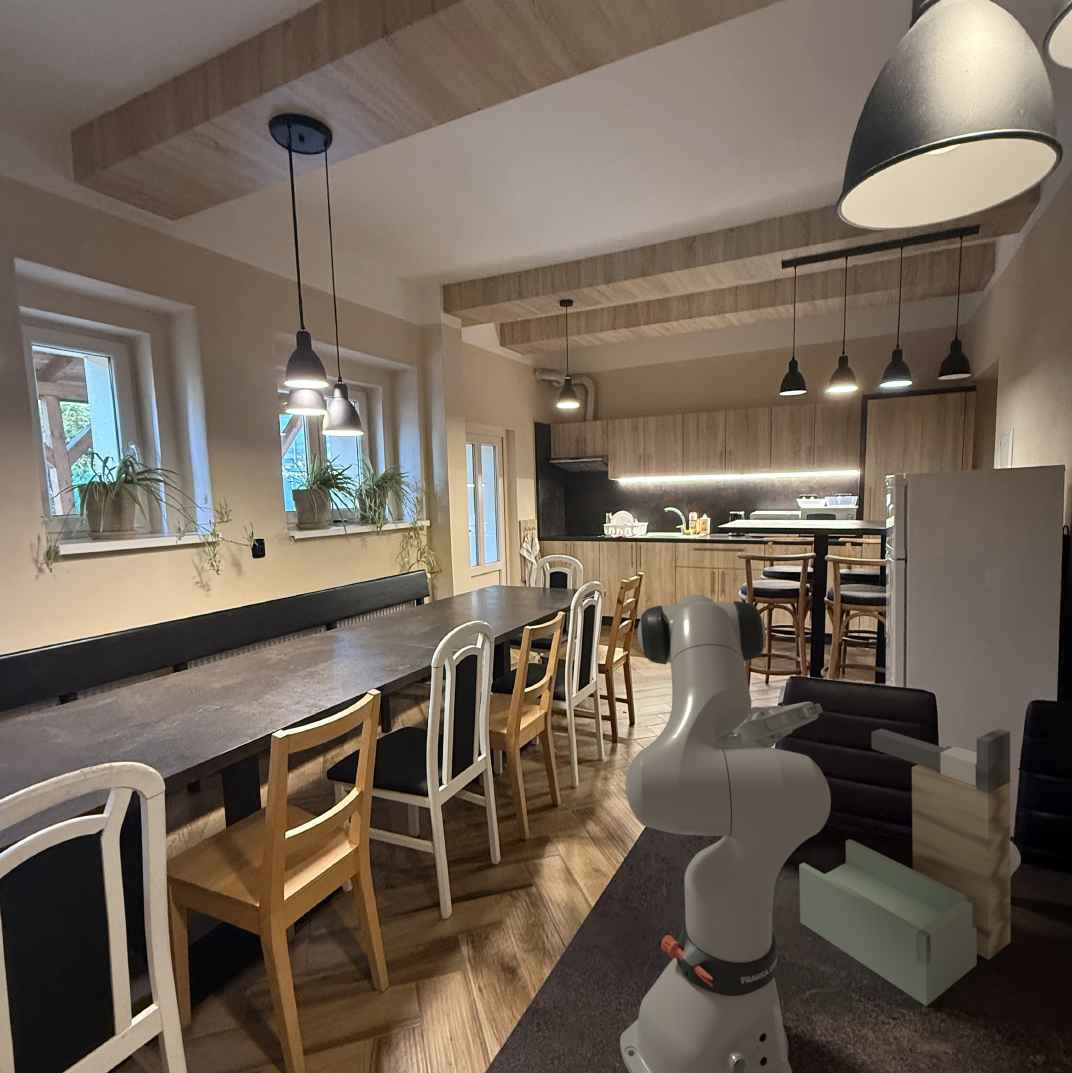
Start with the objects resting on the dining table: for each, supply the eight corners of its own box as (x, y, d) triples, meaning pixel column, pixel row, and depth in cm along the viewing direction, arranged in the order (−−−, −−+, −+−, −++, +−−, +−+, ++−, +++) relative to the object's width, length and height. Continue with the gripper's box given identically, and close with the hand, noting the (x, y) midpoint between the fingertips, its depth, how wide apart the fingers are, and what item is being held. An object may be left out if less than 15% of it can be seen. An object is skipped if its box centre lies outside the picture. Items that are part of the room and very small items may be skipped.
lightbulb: (1028, 910, 101) (1028, 847, 100) (988, 906, 102) (987, 844, 102) (1008, 887, 107) (1007, 827, 106) (969, 884, 108) (969, 825, 108)
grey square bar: (975, 785, 92) (975, 763, 92) (869, 749, 107) (868, 730, 106) (989, 778, 94) (989, 756, 94) (883, 743, 109) (883, 724, 109)
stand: (988, 959, 91) (987, 741, 89) (913, 917, 100) (911, 720, 99) (1010, 941, 94) (1010, 731, 92) (935, 902, 104) (934, 711, 102)
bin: (926, 1006, 83) (925, 937, 83) (800, 922, 100) (799, 864, 100) (976, 964, 90) (976, 900, 89) (850, 892, 107) (849, 838, 107)
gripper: (717, 724, 127) (763, 708, 116) (780, 704, 137) (828, 688, 126) (729, 754, 124) (777, 741, 114) (793, 732, 135) (842, 717, 124)
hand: (804, 713), depth 120 cm, fingers open, 8 cm apart
